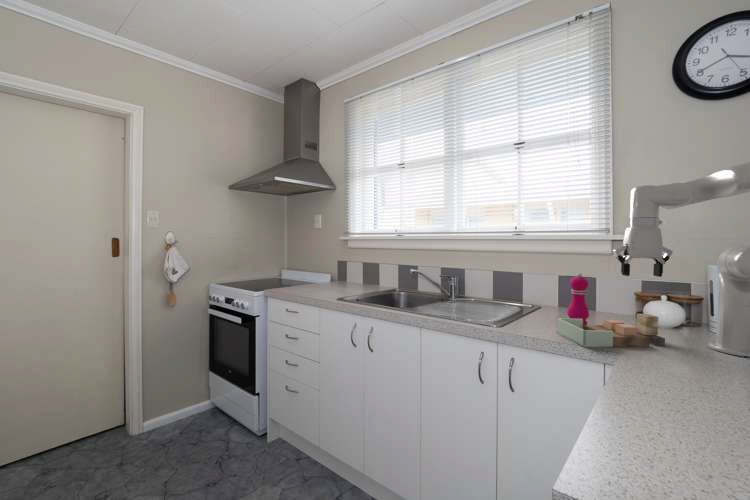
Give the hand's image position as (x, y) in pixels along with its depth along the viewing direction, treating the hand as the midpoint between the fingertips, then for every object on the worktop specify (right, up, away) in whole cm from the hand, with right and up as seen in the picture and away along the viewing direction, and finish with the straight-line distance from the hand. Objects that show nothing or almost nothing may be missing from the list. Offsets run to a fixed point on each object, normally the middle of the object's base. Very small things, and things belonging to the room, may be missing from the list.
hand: (641, 275), depth 114 cm
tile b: (-8, -18, +2) cm, 20 cm away
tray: (-20, -21, -1) cm, 29 cm away
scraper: (+1, -21, -1) cm, 21 cm away
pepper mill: (-10, -20, +18) cm, 29 cm away
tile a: (-8, -18, -4) cm, 20 cm away
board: (-9, -21, -1) cm, 23 cm away
